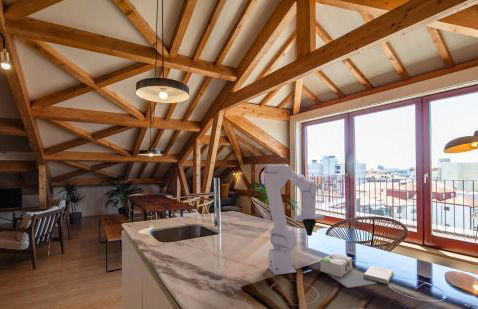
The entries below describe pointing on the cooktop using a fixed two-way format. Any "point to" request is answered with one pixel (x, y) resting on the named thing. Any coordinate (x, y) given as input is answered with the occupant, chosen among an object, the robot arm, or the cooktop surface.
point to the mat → (353, 279)
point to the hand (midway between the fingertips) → (309, 235)
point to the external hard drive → (378, 274)
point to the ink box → (336, 265)
